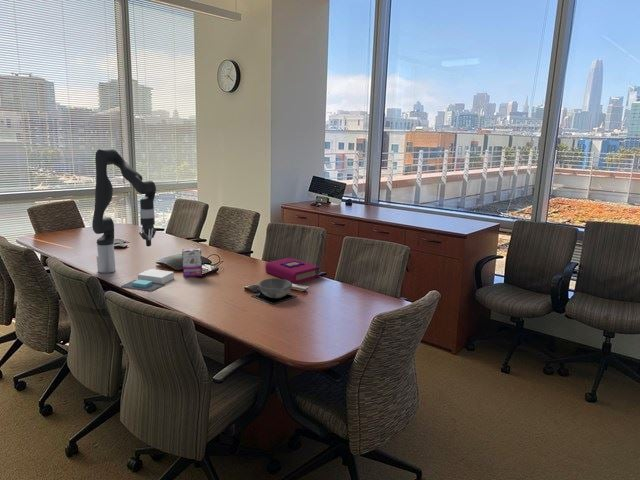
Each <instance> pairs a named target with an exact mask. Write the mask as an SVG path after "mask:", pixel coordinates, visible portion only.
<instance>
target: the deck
mask: <svg viewBox="0 0 640 480" xmlns="http://www.w3.org/2000/svg"><path fill="white" fill-rule="evenodd" d="M174 279H175V272H174V271H170V270H169V271H168V270H164V269H163V270H161V269H154V268H149V269H147V270H145V271H142V272H140V273H138V274H137V280H146V281H152V282H154V283H161V284H166V283H168V282H170V281H172V280H174Z"/></svg>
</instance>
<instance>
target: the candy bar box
mask: <svg viewBox="0 0 640 480" xmlns="http://www.w3.org/2000/svg"><path fill="white" fill-rule="evenodd" d="M181 251H182V254H181V255H182V256H181V257H182V273H183V274H182V276H183V278H188V277H189V278H191V277H202V276H203V263H202V248H201V247H200V248H185V249H184V248H182V250H181Z"/></svg>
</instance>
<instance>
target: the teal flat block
mask: <svg viewBox="0 0 640 480" xmlns="http://www.w3.org/2000/svg"><path fill="white" fill-rule="evenodd" d="M135 280H136V281H134V282H132V286H136V287H142V288H147V287H149V286H151V285H153V284H152V281H146V280H138V279H135Z"/></svg>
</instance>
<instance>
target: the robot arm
mask: <svg viewBox="0 0 640 480" xmlns="http://www.w3.org/2000/svg"><path fill="white" fill-rule="evenodd" d="M94 158H95V159H94V161H95V162H94V163H95V190H94V191H95V192H94V195H95V196H94V210H93V216H92V217H93V218H92V231H93V232H94V234H96V235H100V234H102V235H101V236H100V237H98V238H97V240H96V249H97V256H96V265H97V272H99V273H102V274H109V273H113V272H116V270H117V269H116V259H115V243H114V242H115V241H114V240H115V223H114V220H113V219H112V217H109V216H104V213H105V211H106V209H107V208H108V206H109V205H110V203H111V201H112V200H113V195H114V193H113V191H114V188H113V184H112V182H111V180H110V179H109V176H108V173H107V168H108V165H114V166H116V167H117V168H118V169H120V172H121V175H122V177H123V178H124V179H125V180H126V181H127V182H128V183H130V184H131V185H132V186H133V188H134V189H135V191H136V192H137V193H139V194H140V195H144V196H143V197H142V198H141V199H140V201H139V202H140V203H139V204H140V212H139V215H140V217H139V218H140V225H141V226H142V228H141V231H139V232H138V234H139V235H140V237H141V238H142V240H145V246H146V247H151V246H152V239H153V238H154V237H155V235H156V233H157V229H158V228H155V226H154V225H156V224H155V223H156V221H155V219H156V218H155V217H156V216H155V206H154V202H155V201H154V200H155V196H156V192H157V187H156V183H155V182H154V181H153V180H143V176H142V175H141V173H139V172H137V170H135V169H134V168H133V167H132V166H130V165H129V163H128V162H127V161H126V160H125V159H124V158H123V157H122V156H121V154H120V153H119V152H118V151H117V150H116V149H114V148H112V147H111V148H110V147H109V148H108V147H107V148H100V149H99V148H98V149H97V150H96V152H95V157H94Z"/></svg>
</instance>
